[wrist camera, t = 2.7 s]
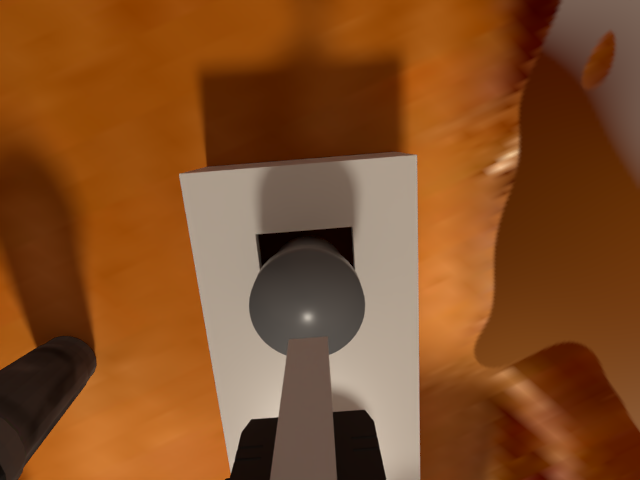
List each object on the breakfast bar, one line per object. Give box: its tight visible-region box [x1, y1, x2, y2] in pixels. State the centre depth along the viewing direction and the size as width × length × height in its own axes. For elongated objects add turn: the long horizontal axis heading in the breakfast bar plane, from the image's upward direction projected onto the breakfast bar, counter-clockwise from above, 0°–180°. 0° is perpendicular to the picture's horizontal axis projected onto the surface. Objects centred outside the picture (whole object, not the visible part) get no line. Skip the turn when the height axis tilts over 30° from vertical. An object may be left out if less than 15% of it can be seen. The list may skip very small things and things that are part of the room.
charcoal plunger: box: [249, 236, 365, 356], centre depth 22 cm, size 6×6×6 cm
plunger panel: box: [179, 152, 420, 480], centre depth 29 cm, size 30×14×6 cm, turn 4°
